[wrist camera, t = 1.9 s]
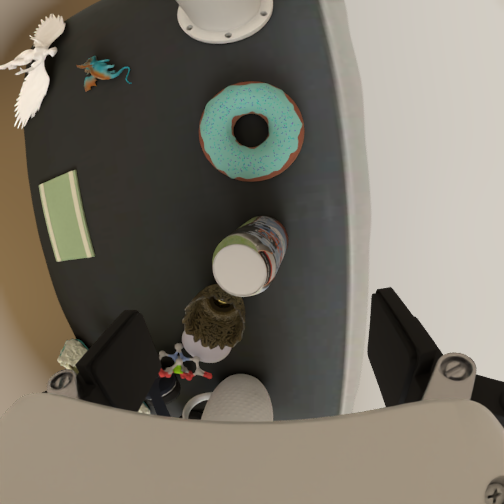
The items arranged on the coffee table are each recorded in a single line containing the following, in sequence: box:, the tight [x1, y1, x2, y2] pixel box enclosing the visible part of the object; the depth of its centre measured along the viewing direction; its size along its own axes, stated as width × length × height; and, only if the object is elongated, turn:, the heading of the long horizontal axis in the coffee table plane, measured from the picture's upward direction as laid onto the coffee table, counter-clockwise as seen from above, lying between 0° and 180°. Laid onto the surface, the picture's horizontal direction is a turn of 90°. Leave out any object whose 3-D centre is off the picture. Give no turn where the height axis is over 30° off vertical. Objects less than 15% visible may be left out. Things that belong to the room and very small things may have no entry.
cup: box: [182, 284, 245, 350], centre depth 34 cm, size 8×7×8 cm
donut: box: [199, 81, 304, 182], centre depth 28 cm, size 12×12×4 cm
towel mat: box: [39, 170, 95, 262], centre depth 36 cm, size 14×10×1 cm
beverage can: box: [212, 216, 288, 297], centre depth 29 cm, size 6×7×12 cm
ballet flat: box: [58, 339, 151, 414], centre depth 45 cm, size 9×24×8 cm, turn 36°
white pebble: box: [182, 330, 231, 363], centre depth 40 cm, size 8×8×2 cm
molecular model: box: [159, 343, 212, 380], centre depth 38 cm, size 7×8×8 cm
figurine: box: [0, 14, 66, 128], centre depth 23 cm, size 12×25×14 cm
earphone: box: [145, 366, 202, 420], centre depth 38 cm, size 20×7×18 cm
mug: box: [182, 374, 273, 422], centre depth 38 cm, size 15×11×13 cm
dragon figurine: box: [77, 56, 132, 91], centre depth 27 cm, size 6×7×8 cm
